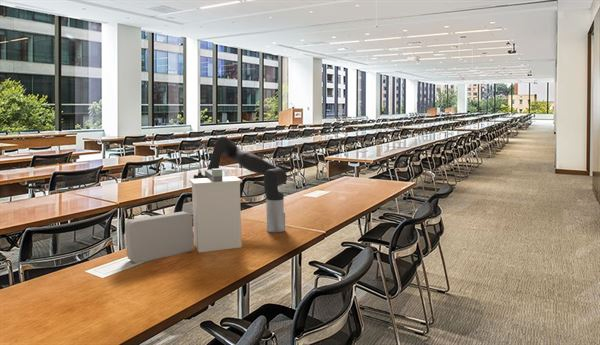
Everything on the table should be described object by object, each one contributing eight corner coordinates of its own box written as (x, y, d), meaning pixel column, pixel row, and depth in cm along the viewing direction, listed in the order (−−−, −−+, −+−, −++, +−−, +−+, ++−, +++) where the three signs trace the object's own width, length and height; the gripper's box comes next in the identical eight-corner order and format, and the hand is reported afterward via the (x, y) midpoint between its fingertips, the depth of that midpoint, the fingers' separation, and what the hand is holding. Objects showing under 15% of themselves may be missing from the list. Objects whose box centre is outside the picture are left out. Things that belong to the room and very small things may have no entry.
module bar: (212, 174, 227) (212, 163, 227) (222, 181, 205) (222, 169, 205) (204, 174, 226) (204, 163, 225) (213, 181, 204) (213, 169, 203)
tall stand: (236, 239, 226) (235, 176, 221) (243, 247, 213) (242, 180, 208) (192, 244, 218) (189, 179, 213) (196, 253, 205) (193, 183, 200)
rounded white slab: (186, 246, 214) (184, 209, 212) (193, 250, 209) (192, 212, 206) (125, 259, 197) (122, 219, 194) (131, 264, 191) (128, 222, 188)
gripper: (191, 179, 237) (194, 166, 223) (218, 177, 242) (222, 165, 228) (192, 192, 235) (195, 180, 221) (219, 190, 240) (224, 178, 226)
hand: (209, 172), depth 224 cm, fingers open, 8 cm apart
